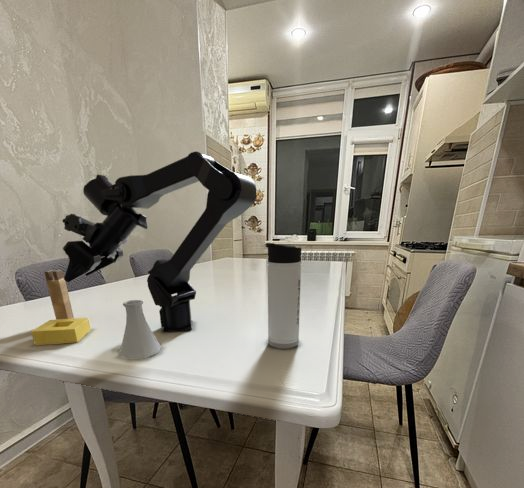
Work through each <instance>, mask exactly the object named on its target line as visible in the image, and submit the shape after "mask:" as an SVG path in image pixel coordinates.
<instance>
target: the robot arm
mask: <svg viewBox="0 0 524 488" xmlns="http://www.w3.org/2000/svg"><path fill="white" fill-rule="evenodd" d="M198 182H199V183H200V184H201V185H202V186H203V187H204V188H205V189H206V190H208V191H207V195H206V205H205V209H204V211H203V212H202V214H201V215H200V216H199V218H198V219H197V221H196V222H195V223H194V225H193V226H192V228H191V229H190V231H189V232H188V234H186V236H185V238H184V239H183V240H182V241H181V243H180V245H179V246H178V248H177V249H176V250H175V252H174V253H173V255H172V256H171V257H170V258H162V259H157V260H156V261H155V262H154V264H153V266H152V267H151V269H150V270H148V271H147V274H149V275H148V276H147V278H146V282H147V288H148V290H149V293H150V295H151V298H152V300H153V303H154V305H155V306H158V307H160V309H159V311H158V313H159V321H160V327H161V328H162V332H163V333H167V332H168V333H169V332H181V331H183V332H184V331H192V330H193V320H192V311H191V309H192V308H191V301H192V300H195V299H196V296H197V295H196V294H197V291H196V289H195V288H194V287H193V286H192V285H191V283H190V282H189V281H190V277H191V271H192V269H193V267H194V266H195V265H196V263H197V262H198V261H199V260H200V258H202V256H203V255H204V253H205V252H206V251H207V250H208V248H209V247H210V245H212V243H213V242H214V241H215V240H216V238H217V237H218V236H219V234H220V233H221V232H222V231H223V229H224V228H225V226H226V225H227V224H228V223H230V222H231V221H233V220H236V219H237V218H238V217H240V216H241V215H243V214H244V213H245V212H246V211H247V210H249V209H250V208H251V207H252V206H253V205H254V204H255V202H256V201H257V197H258V195H257V185H256V184H255V182H254V180H253V179H252V178H251V177H250V176H248V175H244V174H241V173H238V172H235V171H232V170H230V169H229V168H227V167H226V166H224V165H222V164H221V163H219V162H218V161H217V160H215V159H214V158H213V157H212V156H210V155H208V154H205V153H202V152H200V151H192V152H189V153H188V155H187V156H185V157H182V158H181V159H178V160H176V161H174V162H172V163H169V164H166V165H165V166H163V167H159V168H158V169H156V170H154V171H151V172H149V173H146V174H136V175H133V174H132V175H126V176H121V177H118V178H117V179H116V180H115V182H114V184H113V183H112V182H111V181H110V179H109V178H108V176H106V175H105V174H104V175H103V174H96V177H95V178H92V179H90V180H89V181H88V182H87V183H86V184H84V186H83V190H82V191H83V195H84V197H85V198H86V199H87V200H88V201H89V202H90V203H91V204H92V205H93V206H94V207H95V208H96V210H98V212H99V213H100V214H101V215H103V216H105V218H104V219H103V221H102V222H96V223H95V222H93V221H90V220H88V219H85V218H83V217H82V216H79V215H77V214H75V213H70V214H67V215H65V218H63V219H62V223H64V224H63V225H64V227H63V228H64V230H65V231H68V232H72V233H74V234H77V235H79V236H82V240H69V241H67V242H66V243H65V245H64V246H63V247H62V250H63V251H64V253H65V255H66V256H67V258H68V259H69V260H68V265H67V267H66V271H65V274H64V280H65V282H66V283H70V282H72V281H74V280H77V279H78V278H80V277H82V276H86V277H88V276H91V275H92V274H94V273H96V272H99V271H100V270H103V269H105V268H106V267H109V266H111V265H113V264H115V263H117V262H119V261H120V260H121V259H122V258H123V256H124V251H123V249H122V248H121V246H122V245H124V244H126V243H127V242H128V238H129V236H130V235H132V233H133V232H134V231H135V229H136V228H137V227H140V228H142V229H144V230H147V229H148V223H147V216H146V215H145V214H142V213H138V211H136V210H135V209H142V210H143V209H145V210H148V209H150V208H152V207H153V206H154V205H156V204H157V203H159V201H160V199H161V198H162V197H164V196H165V195H168V194H170V193H173V192H175V191H178V190H181V189H183V188H186V187H188V186H190V185H193V184H196V183H198ZM113 257H114V258H113Z"/></svg>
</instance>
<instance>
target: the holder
mask: <svg viewBox="0 0 524 488" xmlns="http://www.w3.org/2000/svg"><path fill="white" fill-rule="evenodd" d="M91 330H92V327H91V324H90V319H89V317H79V318H78V317H77V318H75V317H74V319H57V320H56V319H50V320H47V321H46V322H44V323H43V324H41V325H39V326H38V327H36V328H35V329H33V330H31V332H30V333H31V336H32V340H33V343H34V345H35V346H43V345H57V344H58V345H60V344H72V343H79V342H80V341H81V340H82V339H83V338H84V337H85V336H86V335H87V334H89V333H90V331H91Z"/></svg>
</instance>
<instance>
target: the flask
mask: <svg viewBox="0 0 524 488" xmlns="http://www.w3.org/2000/svg"><path fill="white" fill-rule="evenodd" d="M143 304H144V301H143V300H140V299H131V300H126V301H123V302H122V306H123V307H124V308H125V313H126V318H125V319H126V320H125V328H124V333H123V338H122V342H121V345H120V350H119V355H118V356H119V357H122V358H124V359H128V360H136V359H137V360H138V359H147V358H149V357H152V356H153V355H156V354H158V353H160V352H159V351H160V350H161V348H162V346H161V344H160V343H159V341H158V339H157V337H156V335H155V333H154V332H153V331H152V329H151V326H150V325H149V324H148V321H147V320H146V316H145V313H144V311H143Z"/></svg>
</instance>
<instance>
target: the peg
mask: <svg viewBox="0 0 524 488" xmlns="http://www.w3.org/2000/svg"><path fill="white" fill-rule="evenodd" d="M43 273H44V276H45V282H46V286H47V288H48V293H49V297H50V302H51V305H52V309H53V313H54V317H55V320H57V319H75V316H74V312H73V308H72V303H71V300H70V295H69V291H68V286H67V282H66V281H65V280H64V277H65V274H64V271H63V269H56V270H54V269H50V270H45V271H44V272H43Z"/></svg>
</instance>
